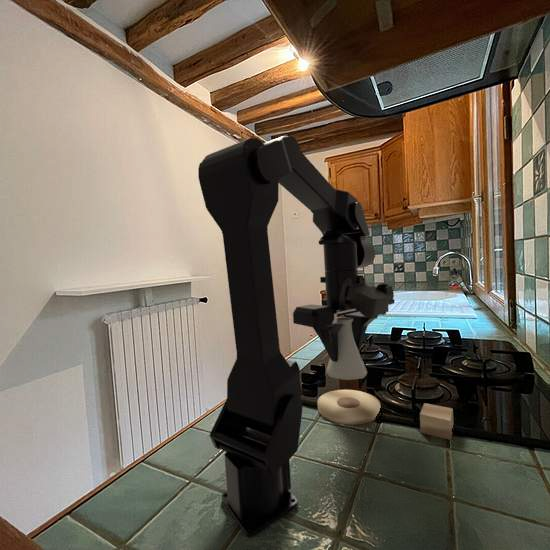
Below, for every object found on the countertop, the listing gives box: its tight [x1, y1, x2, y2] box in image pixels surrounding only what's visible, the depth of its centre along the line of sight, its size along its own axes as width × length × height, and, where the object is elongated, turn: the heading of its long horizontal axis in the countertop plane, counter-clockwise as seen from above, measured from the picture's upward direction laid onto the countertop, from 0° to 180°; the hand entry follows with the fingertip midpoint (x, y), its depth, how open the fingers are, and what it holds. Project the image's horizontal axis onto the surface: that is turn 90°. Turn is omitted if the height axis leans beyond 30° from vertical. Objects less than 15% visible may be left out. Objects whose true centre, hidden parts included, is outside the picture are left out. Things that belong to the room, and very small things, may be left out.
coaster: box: [317, 389, 381, 426], centre depth 54 cm, size 11×11×1 cm
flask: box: [325, 316, 368, 381], centre depth 54 cm, size 7×7×10 cm
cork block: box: [419, 402, 454, 441], centre depth 46 cm, size 4×4×3 cm
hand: (345, 357), depth 54 cm, fingers closed on flask, 5 cm apart
